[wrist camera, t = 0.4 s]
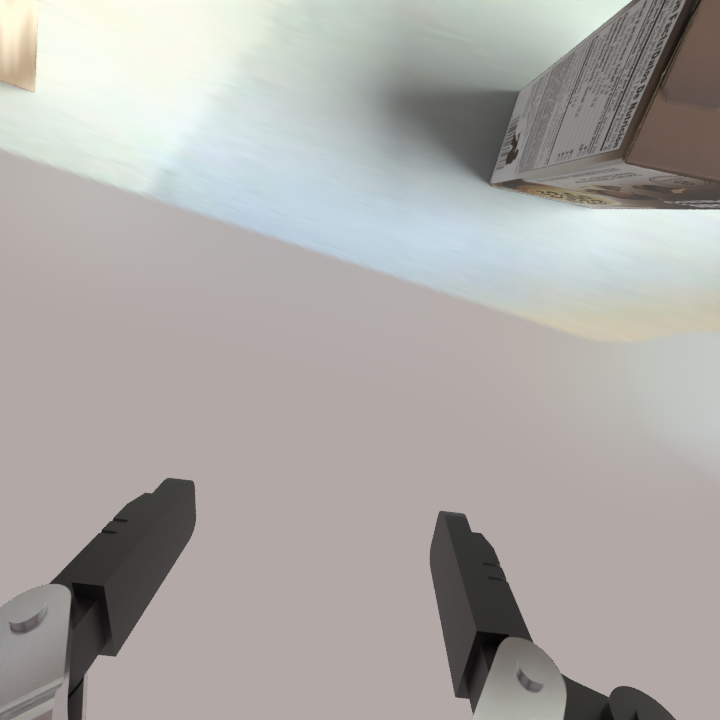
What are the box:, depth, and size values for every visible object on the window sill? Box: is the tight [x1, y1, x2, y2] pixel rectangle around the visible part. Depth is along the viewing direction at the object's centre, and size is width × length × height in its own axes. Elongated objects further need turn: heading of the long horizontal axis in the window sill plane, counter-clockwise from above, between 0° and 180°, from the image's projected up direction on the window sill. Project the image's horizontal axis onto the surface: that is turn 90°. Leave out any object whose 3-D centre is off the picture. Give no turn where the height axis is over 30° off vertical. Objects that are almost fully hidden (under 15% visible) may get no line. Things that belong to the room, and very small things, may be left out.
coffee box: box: [490, 0, 720, 210], centre depth 18 cm, size 9×6×16 cm
